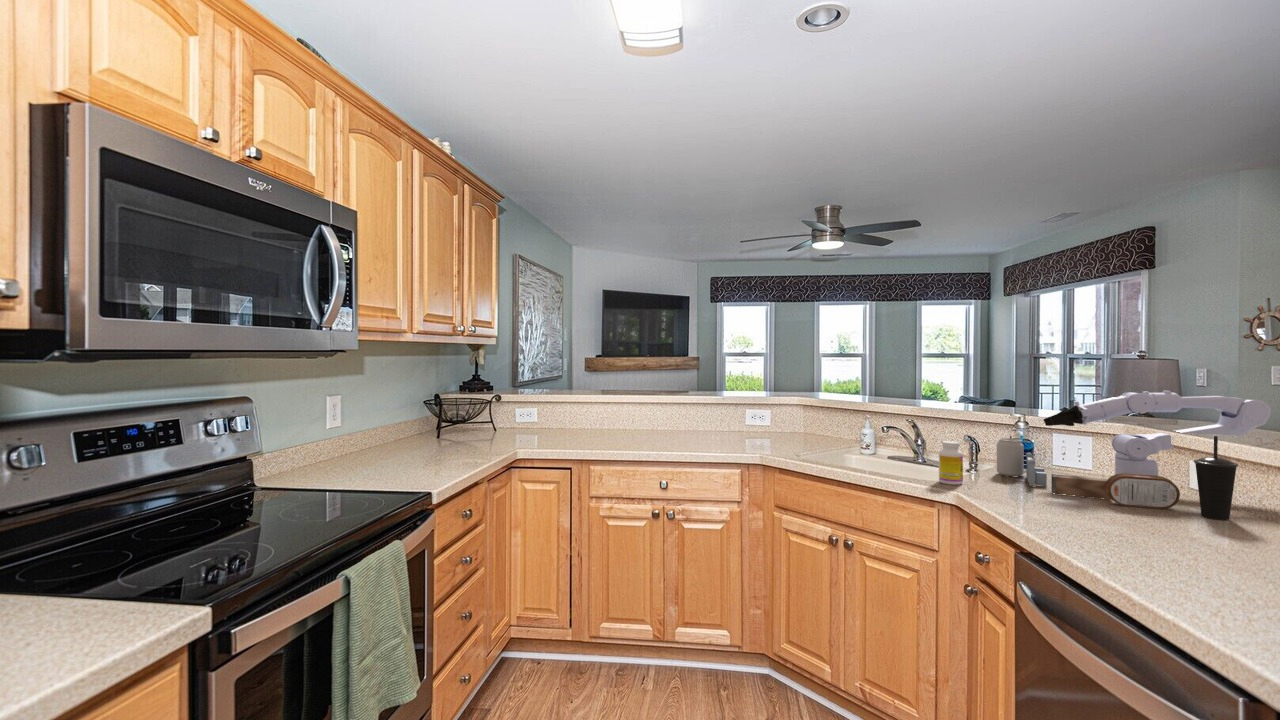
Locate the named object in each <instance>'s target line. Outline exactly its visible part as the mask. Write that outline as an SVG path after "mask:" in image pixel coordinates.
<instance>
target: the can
mask: <svg viewBox="0 0 1280 720" xmlns="http://www.w3.org/2000/svg"><path fill="white" fill-rule="evenodd" d="M998 440H999V441H997V442H996V472H997V473H998V474H999V475H1000V474H1001V475H1000V476H1002V475H1005V476H1004V477H1008V476H1020V477H1022V476H1023V475H1024V474H1025V472H1024V471H1025V469H1024V468H1025V466H1024V465H1025V462H1024V461H1025V459H1024V457H1025V456H1024V455H1025V453H1024V452H1025V449H1024V447H1025V445H1024V444H1023V443H1022V439H1018V438H1012V437H1011V438H1009V437H1002V438H998Z"/></svg>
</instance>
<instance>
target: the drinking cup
mask: <svg viewBox="0 0 1280 720" xmlns="http://www.w3.org/2000/svg"><path fill="white" fill-rule="evenodd" d="M1218 444H1219V442H1218V436H1214V443H1213V456H1205V457H1204V456H1203V457H1200V458H1197V459H1194V460H1193V463H1194V465H1195V473H1196V480H1197V482H1196V483H1197V489H1198V496H1199V497H1198V499H1199V507H1200V516H1201V517H1204V518H1206V519H1211V520H1218V521H1229V520H1230V516H1231V509H1232V503H1233V494H1234V488H1235V481H1236V480H1235V479H1236V474H1237V473H1236V472H1237V467H1238V468H1239V463H1237V462H1233V461H1232V460H1230V459H1227V458H1223V457H1220V456H1218V454H1219V452H1218V451H1219V450H1218V447H1219V446H1218Z"/></svg>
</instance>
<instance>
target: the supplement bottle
mask: <svg viewBox="0 0 1280 720" xmlns="http://www.w3.org/2000/svg"><path fill="white" fill-rule="evenodd" d="M941 446H942V449H940V450H939V451H938V481H939V482H940V483H942V484H945V485H951V486H957V485H958V486H959V485H962V484H963V482H964V462H963V461H964V460H963V459H964V456H963V452H962V451H961V450H960V449H959V447H960V442H959V441H952V440H942V442H941Z"/></svg>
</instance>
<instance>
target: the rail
mask: <svg viewBox="0 0 1280 720" xmlns="http://www.w3.org/2000/svg"><path fill="white" fill-rule="evenodd" d="M1108 479H1109V478H1105V477H1104V478H1103V477H1090V476H1089V477H1088V476H1080V475H1079V476H1078V475H1067V474H1055V473H1051V493H1052V492H1053V493H1055V494H1054V495H1058V494H1066V495H1065V496H1068V495H1075V496H1074V497H1078V496H1084V497H1083V498H1088V497H1094V498H1093V499H1099V498H1104V499H1103V500H1109V499H1110V498H1109V497H1108V496H1107V494H1106V492H1105V483H1106V481H1107V480H1108ZM1053 493H1052V494H1053Z"/></svg>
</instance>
